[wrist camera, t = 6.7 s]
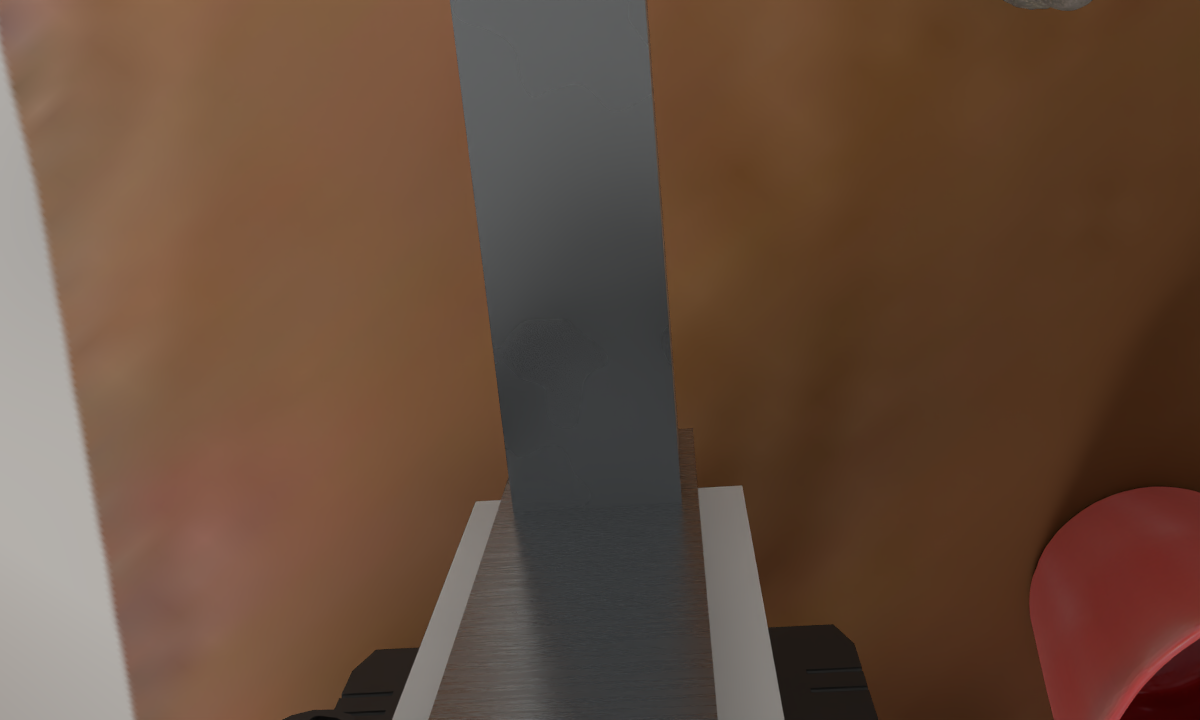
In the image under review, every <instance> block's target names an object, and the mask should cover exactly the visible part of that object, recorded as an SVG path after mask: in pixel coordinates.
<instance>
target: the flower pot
mask: <svg viewBox="0 0 1200 720" xmlns="http://www.w3.org/2000/svg"><path fill="white" fill-rule="evenodd" d="M1029 609H1030V618H1031V623H1032V628H1033V632H1034V637H1035V641H1036V646H1037V650H1038V655H1039V659H1040V664H1041V668H1042V672H1043V677H1044V681H1045V686H1046V690H1047V694H1048V698H1049V702H1050V706H1051V710H1052V714H1053V718H1054V720H1200V492H1196V491H1193V490H1189V489H1183V488H1174V487H1144V488H1137V489H1133V490H1129V491H1124V492H1120V493H1117V494H1114V495H1112V496H1109V497H1107V498H1104V499H1102V500H1100V501H1098V502H1095V503H1094V504H1092V505H1090V506H1089V507H1087V508H1085V509H1084V510H1082V511H1081V512H1080V513H1078V514H1077V515H1076V516H1074V517H1073V518H1072V519H1070V520H1069V521H1068V522H1067V523H1066V524H1065V525H1064V526H1063V527H1062V528H1061V529H1060V530H1059V531H1058V532H1057V533H1056V534H1055V535H1054V537H1053V538H1052V539H1051V541H1050V542H1049V543H1048V545H1047V546H1046V548H1045V549H1044V551H1043V553H1042V555H1041V557H1040V559H1039V562H1038V565H1037V568H1036V570H1035V573H1034V575H1033V577H1032V582H1031V587H1030V595H1029Z"/></svg>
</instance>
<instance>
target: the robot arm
mask: <svg viewBox="0 0 1200 720" xmlns="http://www.w3.org/2000/svg"><path fill="white" fill-rule="evenodd" d="M698 497H699V509H700V520H701V532H702V543H703V555H704V566H705V578H706V589H707V601H708V613H709V624H710V636H711V647H712V659H713V670H714V682H715V693H716V705H717V716H718V720H878V717H877V714H876V711H875V708H874V705H873V702H872V698H871V695H870V692H869V690H868V687H867V683H866V679H865V676H864V673H863V671H862V667H861V664H860V660H859V657H858V654H857V651H856V648H855V645H854V643H853V642H852V641H851V640H850V639H848V638H847V637H846V636H845V635H844V634H843V633H842V632H841V631H840V630H839V629H838V628H836V627H835V626H834V625H833V624H831V625H811V626H791V627H771V628H768V626H767V620H766V615H765V609H764V604H763V598H762V593H761V587H760V582H759V576H758V571H757V565H756V560H755V554H754V548H753V543H752V537H751V532H750V526H749V521H748V515H747V510H746V504H745V499H744V493H743V488H742V485H741V486H725V487H708V488H698ZM500 502H501V500H492V501H476V502H475V505H474V507H473V510H472V513H471V515H470V518H469V520H468V523H467V526H466V528H465V531H464V533H463V536H462V539H461V541H460V544H459V546H458V549H457V552H456V554H455V557H454V559H453V562H452V565H451V567H450V570H449V573H448V575H447V578H446V580H445V583H444V586H443V588H442V591H441V593H440V596H439V599H438V601H437V604H436V606H435V609H434V612H433V614H432V617H431V619H430V622H429V625H428V627H427V630H426V632H425V635H424V638H423V640H422V643H421V646H420V648H403V649H383V650H375V651H374V652H373V653H372V654H371V655H370V656H369V657H367V658H366V659H365V660H364V661H363V662H362V663H361V664H360V665H359V666H357V667H356V668H355V669H354V670H353V671H352V673H351V675H350V677H349V679H348V682H347V684H346V686H345V688H344V690H343V692H342V698H339V701H338V703H337V705H336V707H335V709H334V710H312V711H308V712H304V713H300V714H295V715H291V716H289V717H287V718H285V719H283V720H428V719H429V716H430V713H431V710H432V707H433V704H434V701H435V698H436V695H437V692H438V689H439V686H440V683H441V680H442V677H443V674H444V671H445V668H446V665H447V662H448V659H449V656H450V653H451V650H452V647H453V644H454V641H455V638H456V635H457V632H458V629H459V626H460V623H461V620H462V617H463V614H464V611H465V608H466V604H467V601H468V598H469V595H470V592H471V589H472V586H473V583H474V580H475V577H476V574H477V571H478V568H479V565H480V562H481V559H482V556H483V553H484V550H485V547H486V544H487V541H488V538H489V535H490V532H491V529H492V526H493V523H494V520H495V517H496V514H497V511H498V508H499V505H500Z"/></svg>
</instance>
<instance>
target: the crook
mask: <svg viewBox="0 0 1200 720" xmlns="http://www.w3.org/2000/svg"><path fill="white" fill-rule="evenodd" d="M450 4H451V12H452V20H453V28H454V37H455V45H456V53H457V61H458V69H459V77H460V85H461V93H462V101H463V109H464V118H465V126H466V134H467V142H468V150H469V158H470V166H471V174H472V182H473V191H474V199H475V207H476V215H477V223H478V231H479V239H480V247H481V255H482V264H483V272H484V280H485V288H486V296H487V304H488V312H489V320H490V328H491V337H492V345H493V353H494V361H495V369H496V377H497V385H498V393H499V401H500V410H501V418H502V426H503V434H504V442H505V450H506V458H507V466H508V474H509V478H508V481H507V484H506V487H505V490H504V493H503V496H502V499H501V502H500V505H499V508H498V511H497V514H496V517H495V520H494V523H493V526H492V529H491V532H490V535H489V538H488V541H487V544H486V547H485V550H484V553H483V556H482V559H481V562H480V565H479V568H478V571H477V574H476V577H475V580H474V583H473V586H472V589H471V592H470V595H469V598H468V601H467V604H466V608H465V611H464V614H463V617H462V620H461V623H460V626H459V629H458V632H457V635H456V638H455V641H454V644H453V647H452V650H451V653H450V656H449V659H448V662H447V665H446V668H445V671H444V674H443V677H442V680H441V683H440V686H439V689H438V692H437V695H436V698H435V701H434V704H433V707H432V710H431V713H430V716H429V719H428V720H718V716H717V705H716V693H715V682H714V670H713V659H712V647H711V636H710V624H709V613H708V601H707V589H706V578H705V566H704V555H703V543H702V532H701V520H700V509H699V497H698V486H697V474H696V462H695V451H694V439H693V428H690V429H678V421H677V407H676V393H675V380H674V366H673V352H672V338H671V324H670V310H669V297H668V283H667V269H666V255H665V241H664V227H663V214H662V200H661V186H660V172H659V158H658V144H657V131H656V117H655V103H654V89H653V75H652V61H651V48H650V34H649V20H648V6H647V0H450Z"/></svg>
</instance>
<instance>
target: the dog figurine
mask: <svg viewBox="0 0 1200 720" xmlns="http://www.w3.org/2000/svg"><path fill="white" fill-rule="evenodd" d="M1004 1H1005V2H1007V3H1010V4H1012V5H1013V6H1015V7H1019V8H1026V9H1030V10H1033V9H1048V8H1050V7H1052V8H1055V9H1058V10H1065V11H1071V10H1076V9H1079V8H1081V7H1083V6H1085V5H1087V4H1089V3H1090V2H1091V1H1092V0H1004Z"/></svg>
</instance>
